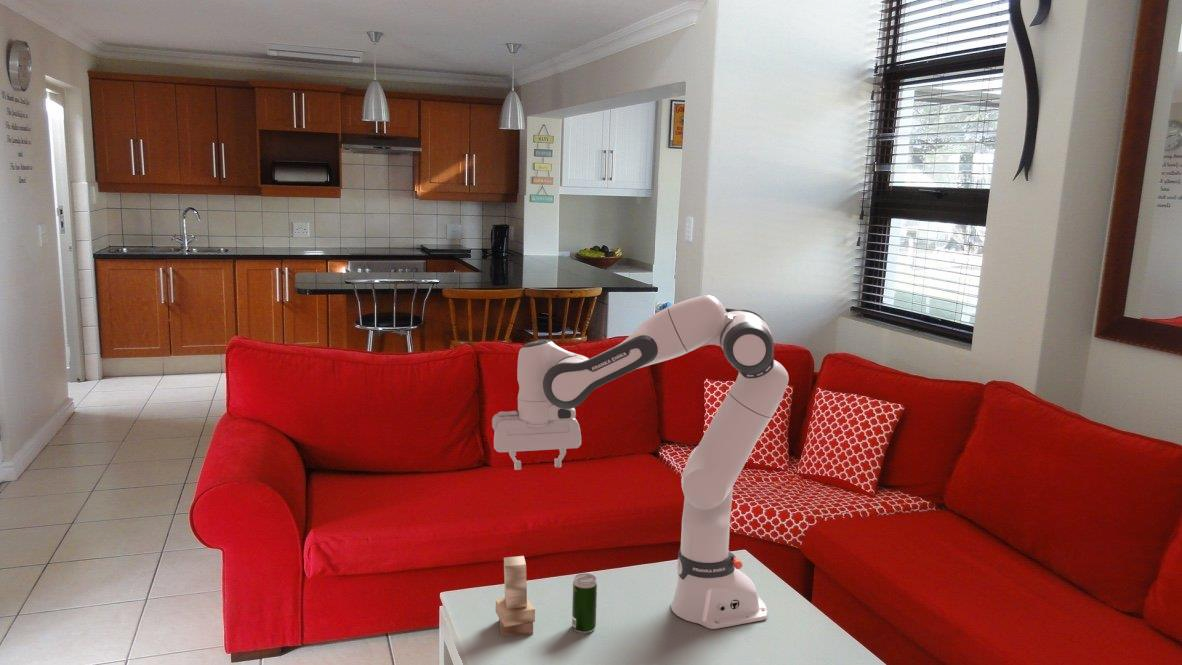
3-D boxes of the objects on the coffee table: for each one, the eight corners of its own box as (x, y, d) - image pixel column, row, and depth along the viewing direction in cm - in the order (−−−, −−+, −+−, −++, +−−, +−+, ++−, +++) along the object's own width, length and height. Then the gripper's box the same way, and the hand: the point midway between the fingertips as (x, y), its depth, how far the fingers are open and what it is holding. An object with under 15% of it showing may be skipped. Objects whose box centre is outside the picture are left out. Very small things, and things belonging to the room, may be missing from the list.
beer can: (580, 636, 185) (581, 586, 183) (567, 626, 189) (568, 576, 187) (600, 630, 188) (602, 580, 186) (587, 619, 192) (588, 570, 190)
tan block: (524, 597, 190) (523, 555, 188) (527, 607, 185) (526, 564, 184) (505, 599, 189) (503, 557, 187) (506, 609, 185) (505, 566, 183)
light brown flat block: (529, 620, 192) (529, 607, 192) (533, 636, 185) (533, 623, 185) (498, 622, 191) (499, 609, 190) (501, 638, 184) (501, 625, 184)
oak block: (525, 606, 192) (525, 594, 191) (534, 621, 186) (535, 609, 185) (495, 611, 189) (495, 599, 189) (504, 626, 183) (504, 614, 182)
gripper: (492, 415, 189) (494, 474, 191) (582, 411, 192) (582, 469, 194) (491, 408, 195) (492, 466, 197) (577, 404, 198) (578, 461, 200)
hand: (537, 467), depth 196 cm, fingers open, 8 cm apart
